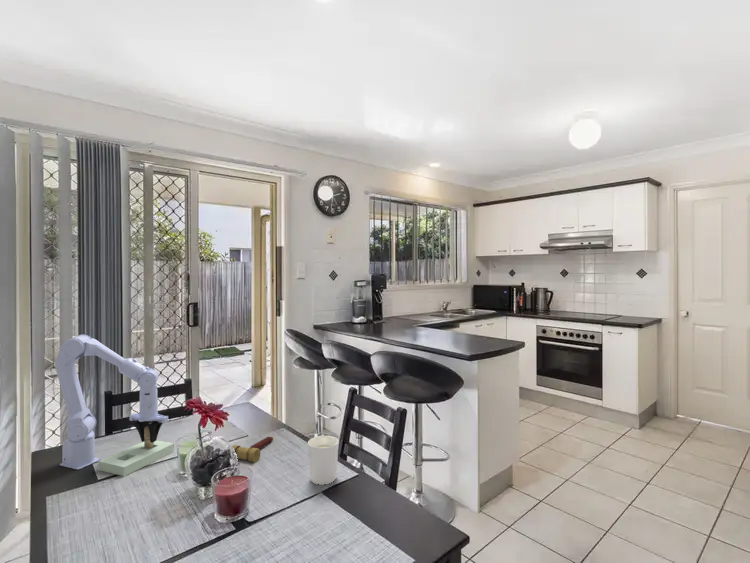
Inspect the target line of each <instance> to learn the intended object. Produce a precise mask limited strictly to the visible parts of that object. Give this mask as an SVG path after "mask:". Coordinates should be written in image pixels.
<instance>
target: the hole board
mask: <svg viewBox="0 0 750 563" xmlns="http://www.w3.org/2000/svg"><path fill="white" fill-rule="evenodd" d="M174 452H175V444H174V443H173V442H168V441H163V440H156V441H155V442H154V446H153V447H151V448H144V442H142V441H141V442H139V443H137V444H135V445H132V446H130V447H128V448H127V447H126V448H125V449H122V450H121V451H119V452H116V453H114V454H112V455H110V456H107V457H105V458H103V459H101V460H100V461H97V462H98V463H97V466H98V467H97V471H99V472H100V471H101V472H104V473H108V474H113V475H116V476H121V477H126V476H128V475H130V474H132V473H134V472H136V471H138V470H140V469H142V468H144V467H146V466H147V465H150V464H152V463H154V462H157V461H158V460H160V459H163V458H164V457H165V456H168V455H170V454H172V453H174Z"/></svg>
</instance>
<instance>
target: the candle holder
mask: <svg viewBox="0 0 750 563" xmlns="http://www.w3.org/2000/svg"><path fill="white" fill-rule="evenodd" d="M339 444H340V442H339V439H338V438H337V437H335V436H332V435H318V436H315V437H312V438H310V439H309V440H308V441H307V448H308V462H309V464H308V466H309V478H310V482H311V483H313V484H315V485H318V484H319V485H320V486H324V484H326V485H330V484H332V483H334V482H335V481H336V480H337V475H338V474H337V473H338V460H339V459H338V457H339V456H338V455H339ZM335 479H336V480H335ZM334 480H335V481H334ZM333 481H334V482H333ZM331 482H332V483H331ZM329 483H330V484H329ZM319 485H318V486H319Z"/></svg>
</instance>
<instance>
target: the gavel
mask: <svg viewBox="0 0 750 563" xmlns="http://www.w3.org/2000/svg"><path fill="white" fill-rule="evenodd" d="M273 438H274V436H267V437H264V438H263V439H262V440H260V441H258V442H255V443H254V444H252V445H250V446H249V447H243V446H241V445H236V444H234V445H232V446H231V447H233V448H234V450H235V452H236V454H237V457H238V458H237V459H238V460H242V461H249V462H250V463H256V462H258V461H259V460H260V457H261V449H263V448H264V447H266V446H267V444H268V445H269V444H270V442H271V443H272V441H273V440H274V439H273Z"/></svg>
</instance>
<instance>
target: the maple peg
mask: <svg viewBox="0 0 750 563" xmlns="http://www.w3.org/2000/svg"><path fill="white" fill-rule="evenodd" d="M153 446H154V442H153V443H151V441H150V432H149V428H148V426H146V427H144V448H151V447H153Z"/></svg>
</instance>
